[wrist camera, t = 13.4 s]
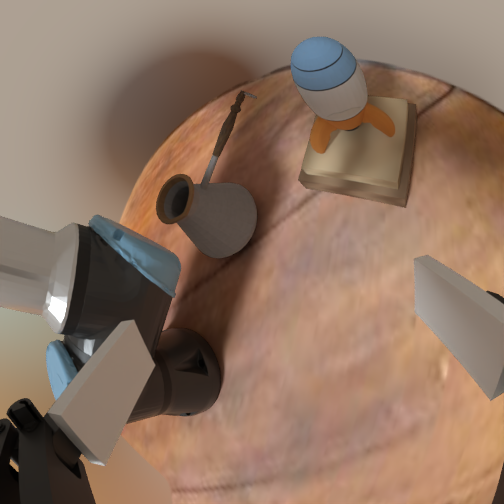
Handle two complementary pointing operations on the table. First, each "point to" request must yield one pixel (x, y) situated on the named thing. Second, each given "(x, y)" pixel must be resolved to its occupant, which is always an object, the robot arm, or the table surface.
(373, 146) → the pad
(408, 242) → the table surface
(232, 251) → the coffee pot
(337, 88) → the toy rocket
